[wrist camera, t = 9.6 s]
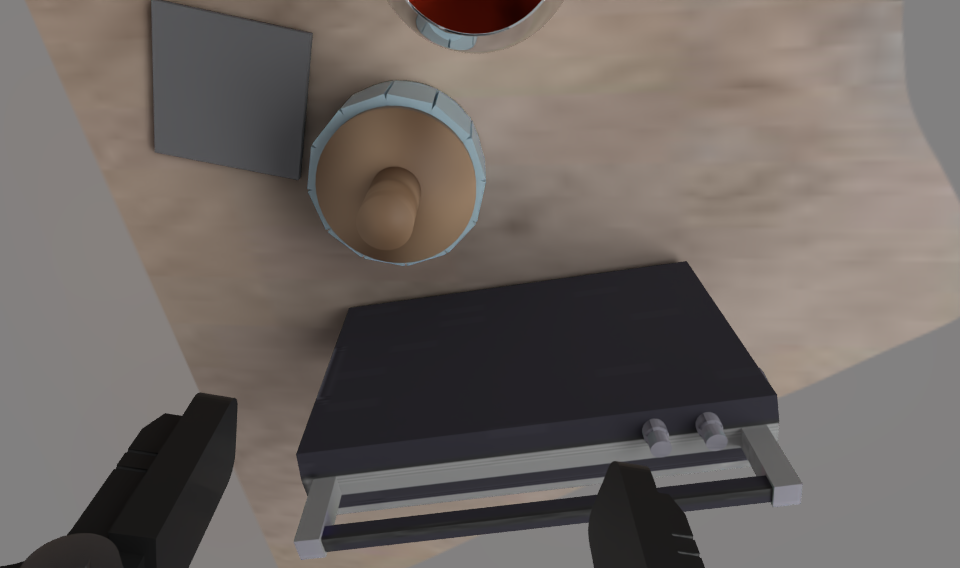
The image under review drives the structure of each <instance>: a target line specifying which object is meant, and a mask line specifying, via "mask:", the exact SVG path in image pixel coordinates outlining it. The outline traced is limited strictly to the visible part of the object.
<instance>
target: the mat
mask: <svg viewBox="0 0 960 568" xmlns="http://www.w3.org/2000/svg"><path fill="white" fill-rule="evenodd" d="M151 12H152V55H153V97H154V140H155V152H156V153H162V154H167V155H172V156H177V157H182V158H187V159H192V160H197V161H203V162H208V163H213V164H218V165H223V166H228V167H233V168H239V169H244V170H249V171H254V172H259V173H264V174H269V175H274V176H280V177H285V178H290V179H295V180H299V179H300V177H301V167H302V155H303V143H304V131H305V120H306V108H307V96H308V84H309V72H310V60H311V48H312V36H313V33H310V32H306V31H301V30H296V29H292V28H287V27H283V26H278V25H273V24H269V23H264V22H259V21H255V20H250V19H246V18H241V17H236V16H232V15H227V14H223V13H218V12H213V11H209V10H204V9H200V8H195V7H190V6H186V5H181V4H177V3H172V2H167V1H163V0H151Z"/></svg>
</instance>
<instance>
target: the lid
mask: <svg viewBox="0 0 960 568" xmlns="http://www.w3.org/2000/svg"><path fill="white" fill-rule="evenodd" d="M315 186H316V195H317V199H318V203H319V206H320V209H321V211H322V214H323V216H324V218H325V219H326V221H327V223H328V224H329V226H330V227H331V229H332V230H333V231H334V232H335V234H336V235H337V236H338V237H339V238H340V239H341V240H342V241H344V242H345V243H346V244H347V245H348V246H350V247H351V248H353V249H354V250H356V251H357V252H359V253H361V254H363V255H365V256H368V257H370V258H373V259H376V260H380V261H384V262H391V263H409V262H416V261H421V260H425V259H427V258H430V257H433V256H435V255H437V254H439V253H440V252H442V251H444V250H445V249H447V248H448V247H449V246H451V245H452V244H453V243H454V242H455V241H456V240H457V239H458V238H459V236H460V235H461V234H462V233H463V231H464V230H465V228H466V227H467V225H468V223H469V221H470V219H471V216H472V213H473V210H474V206H475V200H476V176H475V170H474V166H473V162H472V159H471V157H470V155H469V152H468V150H467V149H466V147H465V145H464V143H463V142H462V141H461V139H460V138H459V137H458V135H457V134H456V133H455V132H454V131H453V130H452V129H451V128H450V127H449V126H447V125H446V124H445V123H444V122H442V121H441V120H439V119H438V118H436V117H434V116H433V115H431V114H429V113H426V112H424V111H421V110H418V109H415V108H411V107H405V106H382V107H376V108H372V109H369V110H366V111H364V112H361V113H359V114H357V115H355V116H354V117H352V118H350V119H349V120H347V121H346V122H345V123H344V124H343V125H341V126H340V127H339V129H338V130H337V131H336V132H335V133H334V134H333V135H332V137H331V138H330V139H329V141H328V142H327V144H326V145H325V147H324V149H323V151H322V153H321V155H320V158H319V161H318V164H317V170H316V182H315Z"/></svg>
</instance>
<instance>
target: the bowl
mask: <svg viewBox="0 0 960 568" xmlns="http://www.w3.org/2000/svg"><path fill="white" fill-rule="evenodd" d="M382 106H405V107H411V108H415V109H418V110H421V111H424V112H426V113H429V114H431V115H433V116H434V117H436V118H438V119H439V120H441V121H442V122H444V123H445V124H446V125H447V126H449V127H450V128H451V129H452V130H453V131H454V132H455V133H456V134H457V135H458V137H459V138H460V139H461V141H462V142H463V143H464V145H465V147H466V149H467V150H468V152H469V155H470V157H471V159H472V162H473V166H474V170H475V176H476V200H475V206H474V210H473V213H472V216H471V219H470V221H469V223H468V225H467V227H466V228H465V230H464V231H463V233H462V234H461V235H460V236H459V238H458V239H457V240H456V241H455V242H454V243H453V244H452V245H451V246H449V247H448V248H447V249H445V250H444V251H442V252H440V253H439V254H437V255H435V256H433V257H430V258H427V259H425V260H429V259H432V258H435V257H439V256H442V255H445V254H446V251H447V252H448V253H449V252H450V251H451V250H452V249H453V247H454V246H455V245H456V244H457V243H458V242H459V241H460V240H461V239H462V238H463V237H464V236H465V235H466V234H467V233H468V232H469V231H470V230H471V229H472V228H473V227H474V225H475V224H476V222H477V220H478V215H479V211H480V206H481V202H482V197H483V193H484V188H485V184H486V172H485V157H484V154H483V151H482V148H481V143H480V139H479V136H478V133H477V131H476V128H475V126H474V124H473V121H471V118H470V117H469V116H468V115H467V113H466V112H465V111H464V109H463V108H462V107H461V106H460V105H459V104H458V103H457V102H456V101H455V100H453V99H452V98H451V97H449V96H448V95H447V94H445V93H443V92H442V91H440V90H438V89H436V88H434V87H432V86H429V85H426V84H423V83H419V82H414V81H407V80H395V81H393V80H392V81H387V82H383V83H379V84H375V85H373V86H371V87H368V88H366V89H364V90H363V91H360V92H357V93H355V94H353V96H351V97H350V98H349V99H348V100H347V101H346V103H345V104H344V105H343V106H342V107H341V108H340V109H339V111H338V112H337V113H336V114H335V116H334V117H333V118H332V119H331V121H330V122H329V123H328V125H327V126H326V127H325V128H324V130H323V131H322V132H321V134H320V135H319V136H318V137H317V139H316V140H315V141H314V142H313V144H312V146H311V153H310V164H309V175H308V186H307V189H309V191H308V193H309V195H310V197H311V200H312V202H313V204H314V206H315V208H316V210H317V212H318V214H319V216H320V219H321V221H322V223H323V225H324V227H325V229H326V230H327V229H329V231H328V233H330V234H331V235H332V236H334V237H335V238H336V239H338V240H339V241H340V242H342V243H343V244H344V245H346V246H347V247H348V248H350V249H351V250H352V251H354V252H355V253H356V254H358V255H359V256H360V257H362V256H363V254H361V253H359V252H357V251H356V250H354V249H353V248H351V247H350V246H348V245H347V244H346V243H345V242H344V241H342V240H341V239H340V238H339V237H338V236H337V235H336V234H335V232H334V231H333V230H332V229H331V227H330V226H329V224H328V223H327V221H326V219H325V218H324V216H323V214H322V211H321V209H320V206H319V203H318V199H317V195H316V186H315V182H316V170H317V164H318V161H319V158H320V155H321V153H322V151H323V149H324V147H325V145H326V144H327V142H328V141H329V139H330V138H331V137H332V135H333V134H334V133H335V132H336V131H337V130H338V129H339V127H340V126H341V125H343V124H344V123H345V122H346V121H347V120H349V119H350V118H352V117H354V116H355V115H357V114H359V113H361V112H364V111H366V110H369V109H372V108H376V107H382ZM364 259H369V260H374V261H380V260H376V259H373V258H370V257H368V256H365V255H364ZM425 260H421V261H416V262H409V263H406V264H407V266H409V265H412V264H416V263H419V262H422V261H425ZM380 262H384V261H380ZM385 263H391V262H385ZM391 264H396V265H402V266H405V263H391Z"/></svg>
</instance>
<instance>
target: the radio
mask: <svg viewBox="0 0 960 568" xmlns="http://www.w3.org/2000/svg"><path fill="white" fill-rule="evenodd" d="M778 431H779V414H778V402H777V394H776V393H775V391H774V390H773V388H772V387H771V385H770V384H769V382H768V380H767V378H766V376H765V374H764V372H763V371H762V370H761V369H760V368H758V366H757V365H756V363H755V362H754V360H753V359H752V357H751V356H750V354H749V353H748V351H747V350H746V348H745V347H744V345H743V344H742V342H741V341H740V339H739V338H738V336H737V335H736V334H735V332H734V331H733V329H732V328H731V326H730V325H729V323H728V322H727V320H726V319H725V317H724V316H723V314H722V313H721V311H720V310H719V308H718V307H717V305H716V304H715V302H714V301H713V300H712V298H711V297H710V295H709V294H708V292H707V291H706V289H705V288H704V286H703V285H702V283H701V282H700V280H699V279H698V277H697V276H696V274H695V273H694V271H693V270H692V268H691V267H690V266H689V264H688V263H687V261H685V262H678V263H671V264H663V265H656V266H649V267H642V268H635V269H627V270H620V271H613V272H606V273H599V274H591V275H584V276H577V277H570V278H563V279H555V280H548V281H541V282H534V283H527V284H519V285H512V286H505V287H498V288H490V289H483V290H476V291H469V292H462V293H454V294H447V295H440V296H433V297H426V298H418V299H411V300H404V301H397V302H390V303H382V304H375V305H368V306H361V307H354V308H349V310H348V313H347V316H346V318H345V321H344V324H343V327H342V329H341V332H340V335H339V338H338V340H337V343H336V346H335V349H334V351H333V354H332V357H331V360H330V362H329V365H328V368H327V371H326V373H325V376H324V379H323V382H322V384H321V387H320V390H319V393H318V395H317V398H316V401H315V404H314V407H313V409H312V412H311V415H310V418H309V420H308V423H307V426H306V429H305V431H304V434H303V437H302V440H301V442H300V445H299V448H298V451H297V453H296V456H297V461H298V466H299V471H300V475H301V480H302V483H303V485H304V488H305V491H306V493H307V496H308V498H307V501H306V504H305V507H304V510H303V513H302V517H301V520H300V523H299V526H298V529H297V533H296V536H295V539H294V544H295V547H296V549H297V551H298V554H299V556H300V559H301V560H304V559H313V558H322V557H326V555H327V552H330V551H339V550H348V549H357V548H366V547H374V546H383V545H392V544H401V543H410V542H419V541H428V540H437V539H446V538H454V537H463V536H472V535H481V534H490V533H499V532H507V531H516V530H526V529H534V528H542V527H551V526H561V525H570V524H579V523H588V522H589V518H590V513H591V510H592V507H593V505H594V502H595V500H596V497H597V495H591V496H582V497H574V498H565V499H556V500H547V501H539V502H530V503H521V504H513V505H504V506H495V507H487V508H478V509H469V510H461V511H452V512H443V513H435V514H426V515H417V516H409V517H400V518H391V519H383V520H374V521H365V522H357V523H348V524H339V525H334V523H335V519H336V515H338V514H347V513H356V512H364V511H373V510H381V509H390V508H398V507H407V506H416V505H424V504H433V503H441V502H450V501H459V500H467V499H476V498H484V497H493V496H502V495H510V494H519V493H527V492H536V491H544V490H553V489H562V488H570V487H579V486H587V485H596V484H602V482H603V480H604V477H605V475H606V472H607V470H608V468H609V465H610V464H611V463H612V462H613V461H618V462H625V463H631V464H637V465H643V466H647V467H648V468H649V469H650V470H651V473H652V476H653V478H656V477H664V476H673V475H682V474H691V473H699V472H708V471H716V470H725V469H733V468H742V467H752V469H753V470H754V472H755V474H756V477H748V478H738V479H730V480H721V481H712V482H704V483H695V484H687V485H678V486H669V487H661V488H657V491H658V493H664V494H669V495H670V496H671V497H672V498H673V500H674V501H675V502H676V503H677V505H678V506H679V507H680V508H681V510H682V511H683V512H686V511H694V510H703V509H712V508H721V507H729V506H739V505H748V504H757V503H765V502H771V504H772V506H773V507H776V506H786V505H794V504H801V495H802V485H803V484H802V482H801V480H800V479H799V477H798V475H797V474H796V472H795V471H794V469H793V467H792V466H791V464H790V462H789V461H788V459H787V457H786V456H785V454H784V453H783V451H782V450H781V448H780V446H779V444H778Z"/></svg>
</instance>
